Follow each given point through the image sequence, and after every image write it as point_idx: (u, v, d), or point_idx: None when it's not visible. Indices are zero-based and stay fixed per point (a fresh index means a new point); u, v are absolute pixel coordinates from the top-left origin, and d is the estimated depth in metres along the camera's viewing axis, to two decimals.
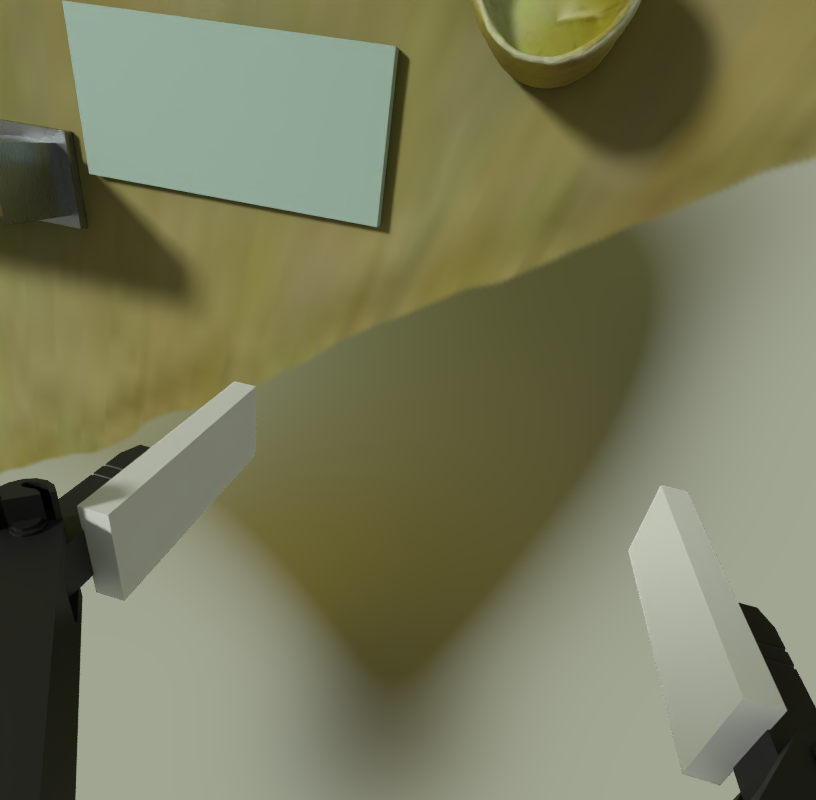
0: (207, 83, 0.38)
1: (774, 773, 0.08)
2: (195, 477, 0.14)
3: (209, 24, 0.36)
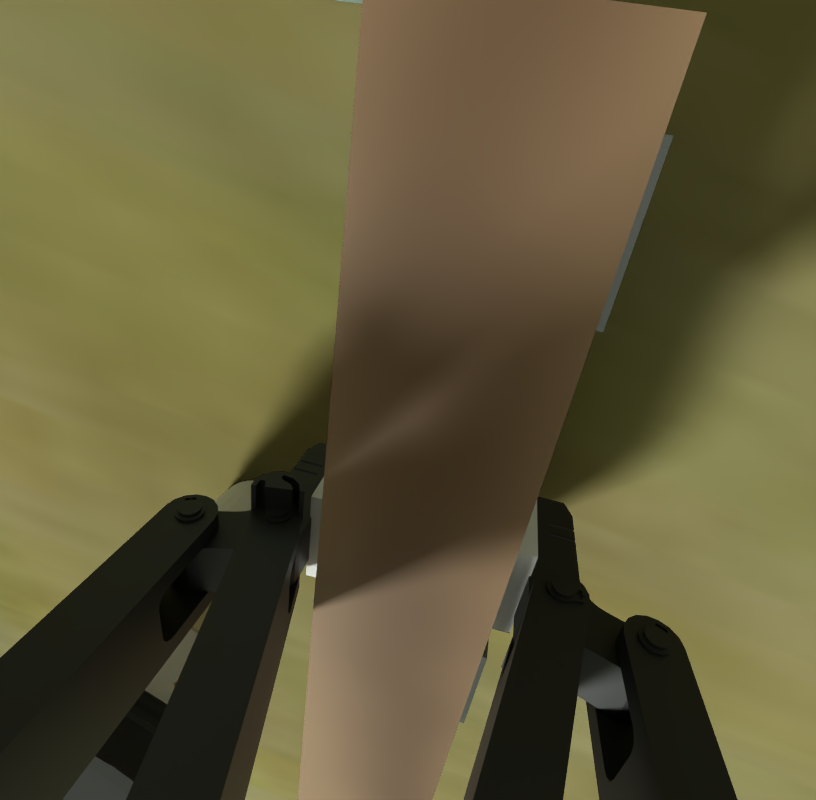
0: None
1: (524, 617, 0.10)
2: None
3: None
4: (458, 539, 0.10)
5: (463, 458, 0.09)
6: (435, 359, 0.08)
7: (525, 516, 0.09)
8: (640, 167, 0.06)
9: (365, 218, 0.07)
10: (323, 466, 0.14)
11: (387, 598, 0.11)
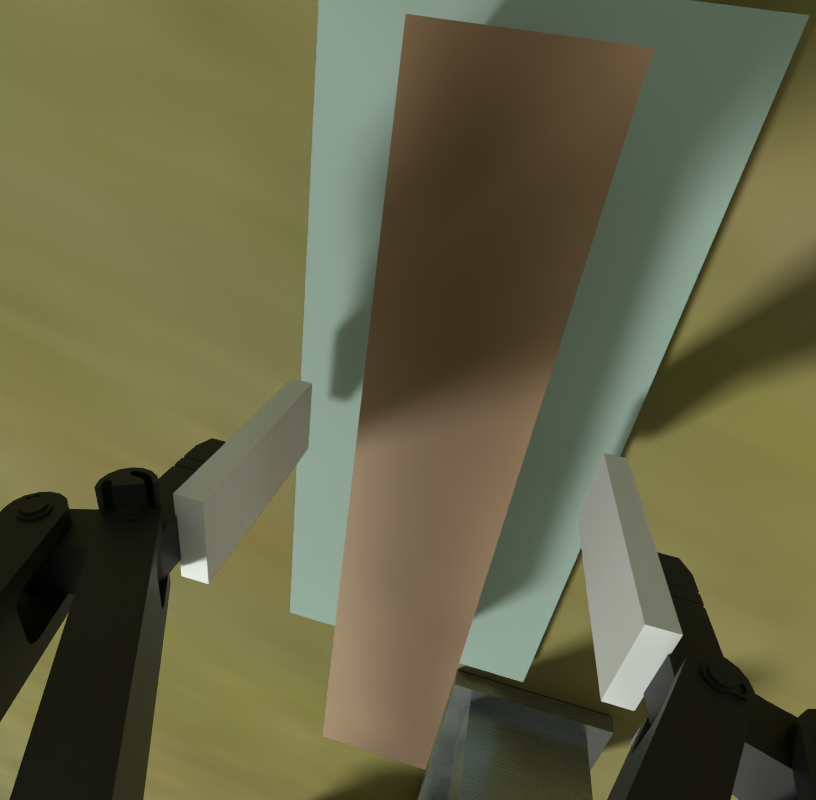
0: None
1: (670, 695, 0.09)
2: (264, 469, 0.14)
3: None
4: (469, 466, 0.12)
5: (474, 396, 0.11)
6: (452, 313, 0.10)
7: (524, 443, 0.11)
8: (609, 160, 0.09)
9: (400, 200, 0.10)
10: None
11: (409, 522, 0.13)
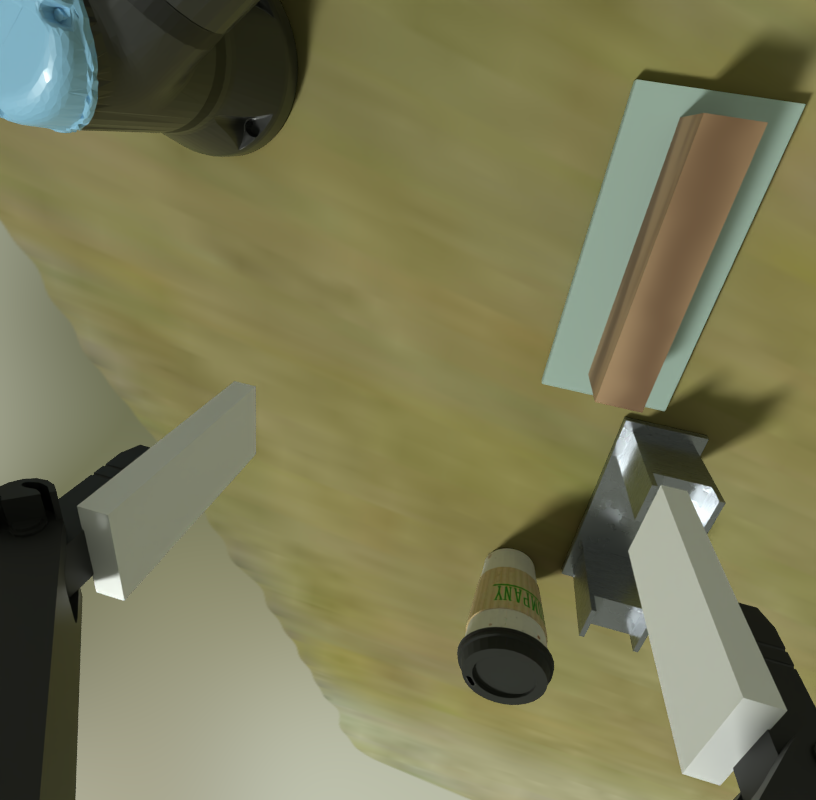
0: (622, 276, 0.44)
1: (774, 773, 0.08)
2: (195, 477, 0.14)
3: (581, 264, 0.44)
4: (694, 250, 0.36)
5: (701, 223, 0.35)
6: (699, 195, 0.35)
7: (715, 240, 0.36)
8: (753, 149, 0.33)
9: (690, 161, 0.34)
10: None
11: (666, 277, 0.38)
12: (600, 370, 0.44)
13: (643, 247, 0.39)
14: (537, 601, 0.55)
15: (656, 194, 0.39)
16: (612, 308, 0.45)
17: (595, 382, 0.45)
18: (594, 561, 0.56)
